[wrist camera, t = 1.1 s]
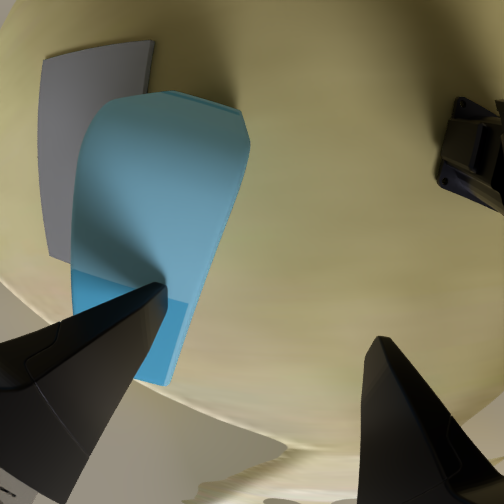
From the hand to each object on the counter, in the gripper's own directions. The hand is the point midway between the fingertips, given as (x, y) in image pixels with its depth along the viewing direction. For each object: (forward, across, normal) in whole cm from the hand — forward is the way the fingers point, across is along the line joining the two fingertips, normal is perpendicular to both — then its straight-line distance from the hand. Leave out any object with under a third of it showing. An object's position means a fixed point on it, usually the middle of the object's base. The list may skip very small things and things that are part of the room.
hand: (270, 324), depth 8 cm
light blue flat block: (+12, +8, 0) cm, 14 cm away
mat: (+12, +17, 0) cm, 21 cm away
